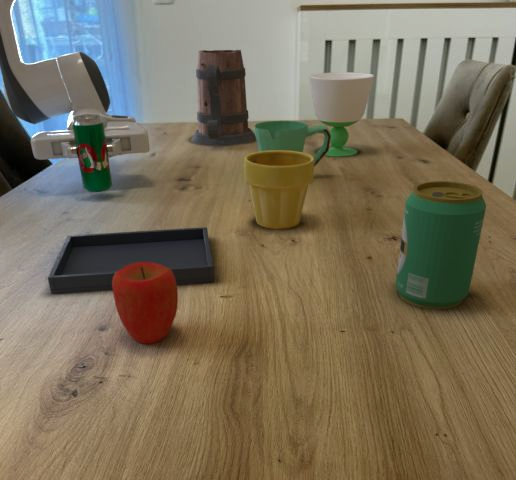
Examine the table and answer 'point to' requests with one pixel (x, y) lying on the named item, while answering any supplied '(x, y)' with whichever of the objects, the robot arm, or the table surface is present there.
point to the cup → (340, 104)
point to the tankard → (221, 99)
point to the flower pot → (278, 185)
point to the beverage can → (439, 243)
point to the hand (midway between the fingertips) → (92, 151)
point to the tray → (130, 257)
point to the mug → (289, 136)
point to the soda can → (92, 152)
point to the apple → (146, 300)
